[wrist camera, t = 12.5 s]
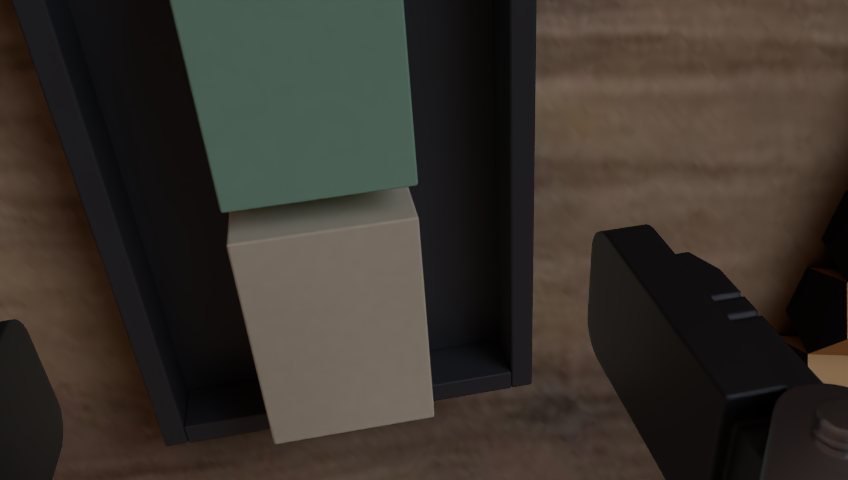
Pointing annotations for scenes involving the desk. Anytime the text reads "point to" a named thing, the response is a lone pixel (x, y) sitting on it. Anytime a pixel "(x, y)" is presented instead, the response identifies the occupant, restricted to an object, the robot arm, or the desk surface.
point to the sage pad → (299, 97)
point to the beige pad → (335, 312)
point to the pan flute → (824, 308)
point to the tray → (207, 227)
